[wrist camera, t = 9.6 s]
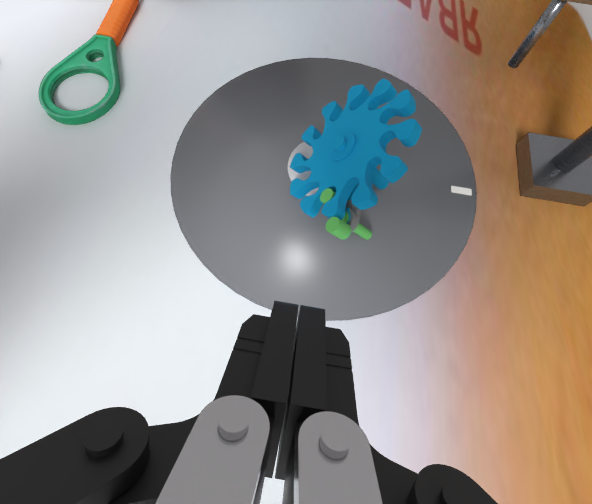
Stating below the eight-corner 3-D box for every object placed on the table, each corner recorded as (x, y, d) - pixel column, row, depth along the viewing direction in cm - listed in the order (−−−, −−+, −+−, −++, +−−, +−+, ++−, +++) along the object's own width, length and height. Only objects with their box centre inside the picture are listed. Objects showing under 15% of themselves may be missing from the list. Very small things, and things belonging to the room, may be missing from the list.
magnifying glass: (105, 134, 27) (94, 119, 26) (33, 121, 27) (18, 106, 26) (163, 12, 33) (157, -7, 31) (103, 2, 33) (94, -17, 31)
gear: (300, 102, 26) (422, 45, 19) (343, 142, 30) (459, 107, 23) (265, 232, 24) (392, 223, 17) (318, 257, 28) (438, 259, 21)
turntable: (130, 289, 23) (124, 286, 22) (217, 49, 32) (215, 39, 31) (473, 351, 23) (481, 349, 22) (467, 90, 31) (473, 80, 30)
